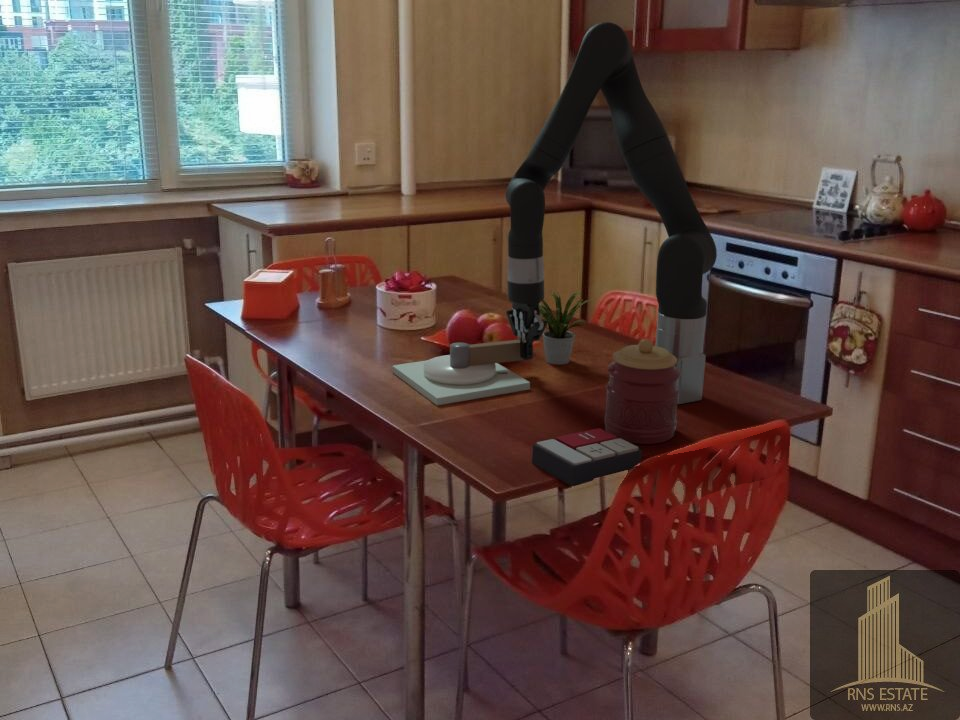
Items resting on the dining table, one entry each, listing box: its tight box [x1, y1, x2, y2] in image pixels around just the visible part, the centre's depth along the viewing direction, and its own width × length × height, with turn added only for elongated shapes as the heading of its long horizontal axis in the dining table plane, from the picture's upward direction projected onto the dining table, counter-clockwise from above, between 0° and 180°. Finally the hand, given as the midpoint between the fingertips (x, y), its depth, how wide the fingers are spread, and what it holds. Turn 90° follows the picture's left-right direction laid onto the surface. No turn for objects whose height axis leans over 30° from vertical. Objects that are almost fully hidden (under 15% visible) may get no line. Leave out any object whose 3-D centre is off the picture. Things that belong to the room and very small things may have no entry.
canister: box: [603, 338, 681, 445], centre depth 169 cm, size 13×13×18 cm
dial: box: [424, 339, 531, 385], centre depth 197 cm, size 24×15×6 cm, turn 111°
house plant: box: [539, 290, 597, 366], centre depth 208 cm, size 14×14×16 cm
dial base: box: [391, 359, 531, 406], centre depth 196 cm, size 22×21×2 cm
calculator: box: [531, 427, 643, 487], centre depth 157 cm, size 11×4×15 cm
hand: (526, 358), depth 197 cm, fingers closed
